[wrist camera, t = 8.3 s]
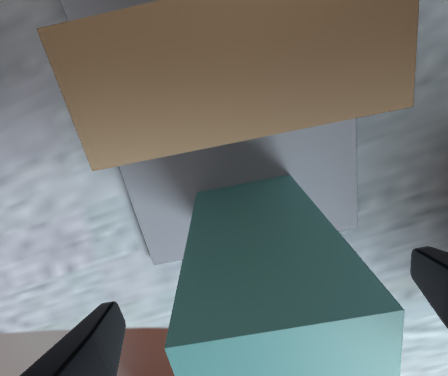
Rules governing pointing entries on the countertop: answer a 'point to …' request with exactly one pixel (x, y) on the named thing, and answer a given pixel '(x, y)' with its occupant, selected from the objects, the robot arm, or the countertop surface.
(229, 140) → the maple tile
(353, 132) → the slate mat
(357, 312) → the teal tile
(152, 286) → the countertop surface
